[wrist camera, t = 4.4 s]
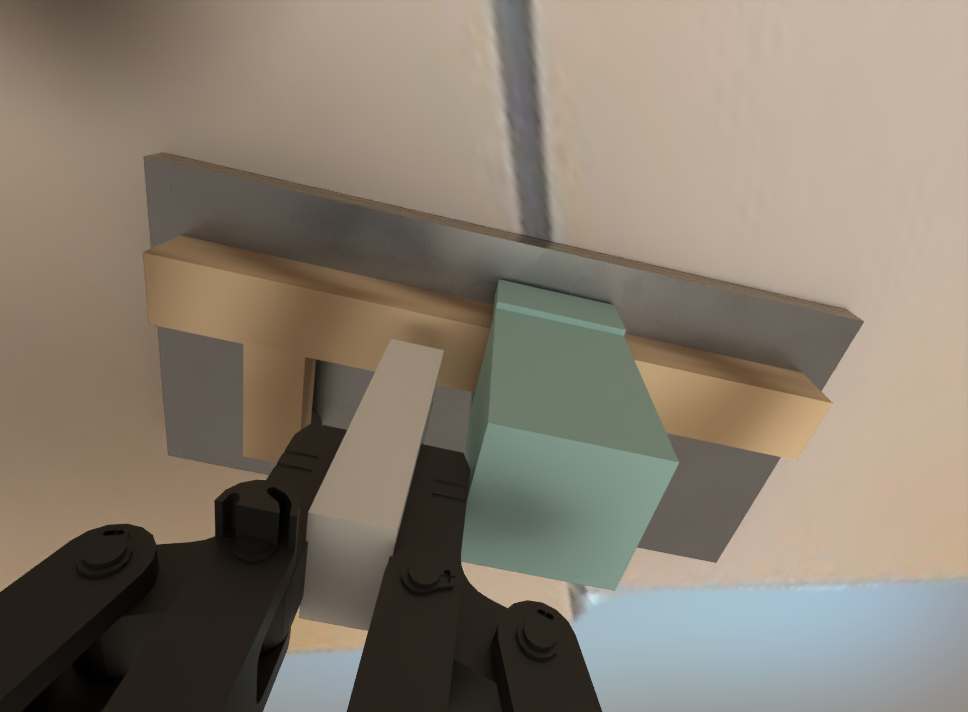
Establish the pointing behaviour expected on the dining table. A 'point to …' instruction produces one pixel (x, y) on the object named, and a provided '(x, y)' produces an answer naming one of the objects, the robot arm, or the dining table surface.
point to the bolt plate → (474, 275)
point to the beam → (433, 323)
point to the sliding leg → (561, 442)
